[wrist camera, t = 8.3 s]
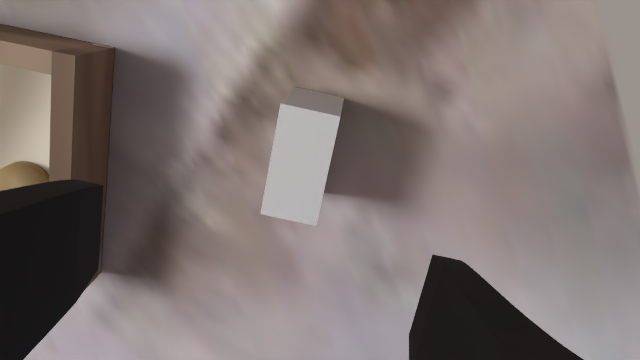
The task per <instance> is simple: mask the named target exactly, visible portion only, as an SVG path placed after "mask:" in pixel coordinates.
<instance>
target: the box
mask: <svg viewBox="0 0 640 360" xmlns="http://www.w3.org/2000/svg"><path fill="white" fill-rule="evenodd" d="M114 55H115V48H114V47H109V46H105V45H100V44H95V43H90V42H85V41H80V40H76V39H71V38H66V37H61V36H56V35H51V34H47V33H42V32H37V31H32V30H27V29H23V28H18V27H13V26H8V25H3V24H0V191H2V190H8V189H13V188H18V187H23V186H28V185H34V184H39V183H45V182H51V181H58V180H70V179H77V180H82V181H86V182H91V183H96V184H101V185H104V186H103V203H102V219H101V236H100V253H99V269H98V270H97V272H96V273H95V275H94V276H93V278H92V279H91V281H90V282H89V284H88V285H87V287H88V286H89V285H90V284H91V283H92V282H93V281H94V279H95V278H96V277H97V276H98V275H99V274H100V273H101V267H102V250H103V234H104V218H105V202H106V185H107V169H108V153H109V136H110V120H111V104H112V88H113V71H114ZM87 287H86V288H87ZM86 288H85V289H86Z"/></svg>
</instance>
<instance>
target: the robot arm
mask: <svg viewBox="0 0 640 360" xmlns="http://www.w3.org/2000/svg"><path fill="white" fill-rule="evenodd" d="M103 186H104V185H101V184H96V183H91V182H86V181H82V180H77V179H70V180H58V181H51V182H45V183H39V184H34V185H28V186H23V187H18V188H13V189H8V190H2V191H0V360H23V359H24V358H25V357H26V356H27V355H28V354H29V353H30V352H31V351H32V349H33V348H34V347H35V346H36V345H37V344H38V343H39V342H40V341H41V340H42V339H43V338H44V337H45V336H46V335H47V333H48V332H49V331H50V330H51V329H52V328H53V327H54V326H55V325H56V324H57V323H58V322H59V320H60V319H61V318H62V317H63V316H64V315H65V314H66V313H67V312H68V311H69V309H70V308H71V307H72V306H73V305H74V304H75V303H76V301H77V300H78V298H79V297H80V295H81V294H82V293H83V291H84V290H85V288H86V287H87V285H88V284H89V282H90V281H91V279H92V278H93V276H94V275H95V273H96V272H97V270H98V269H99V253H100V236H101V219H102V203H103ZM409 360H583V359H582V358H580V357H579V356H577V355H576V354H574V353H573V352H571V351H570V350H568V349H567V348H566V347H564V346H563V345H562V344H560V343H559V342H557V341H556V340H555V339H553V338H552V337H551V336H550V335H548V334H547V333H546V332H545V331H543V330H542V329H541V328H540V327H538V326H537V325H536V324H535V323H533V322H532V321H531V320H530V319H528V318H527V317H526V316H525V315H524V314H522V313H521V312H520V311H519V310H518V309H517V308H516V307H514V306H513V305H512V304H511V303H510V302H509V301H508V300H506V299H505V298H504V297H503V296H502V295H501V294H500V293H499V292H498V291H496V290H495V289H494V288H493V287H492V286H491V285H490V284H489V283H488V282H487V281H486V280H484V279H483V278H482V277H481V276H480V275H479V274H478V273H477V272H475V271H474V270H473V269H472V268H471V267H469V266H468V265H467V264H466V263H464V262H463V261H461V260H456V259H451V258H447V257H442V256H437V255H432V259H431V262H430V266H429V269H428V272H427V276H426V279H425V282H424V286H423V289H422V293H421V296H420V299H419V303H418V306H417V310H416V313H415V316H414V320H413V323H412V327H411V330H410V333H409Z"/></svg>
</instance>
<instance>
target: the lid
mask: <svg viewBox="0 0 640 360" xmlns="http://www.w3.org/2000/svg"><path fill="white" fill-rule="evenodd" d="M343 101H344V98H342V97H338V96H333V95H329V94H324V93H320V92H315V91H311V90H306V89H301V88H297V87H293V88H292V89H291V91H290V92H289V93H288V94H287V96H286V97H285V98H284V100H283V101H282V102H281V104H280V110H279V115H278V121H277V126H276V132H275V137H274V143H273V148H272V154H271V159H270V165H269V170H268V176H267V181H266V187H265V192H264V198H263V203H262V209H261V214H264V215H268V216H273V217H277V218H282V219H286V220H291V221H295V222H300V223H304V224H309V225H313V226H316V225H317V220H318V216H319V211H320V207H321V202H322V198H323V193H324V189H325V184H326V180H327V175H328V171H329V166H330V162H331V157H332V153H333V148H334V144H335V139H336V135H337V130H338V126H339V121H340V117H341V112H342V107H343Z"/></svg>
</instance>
